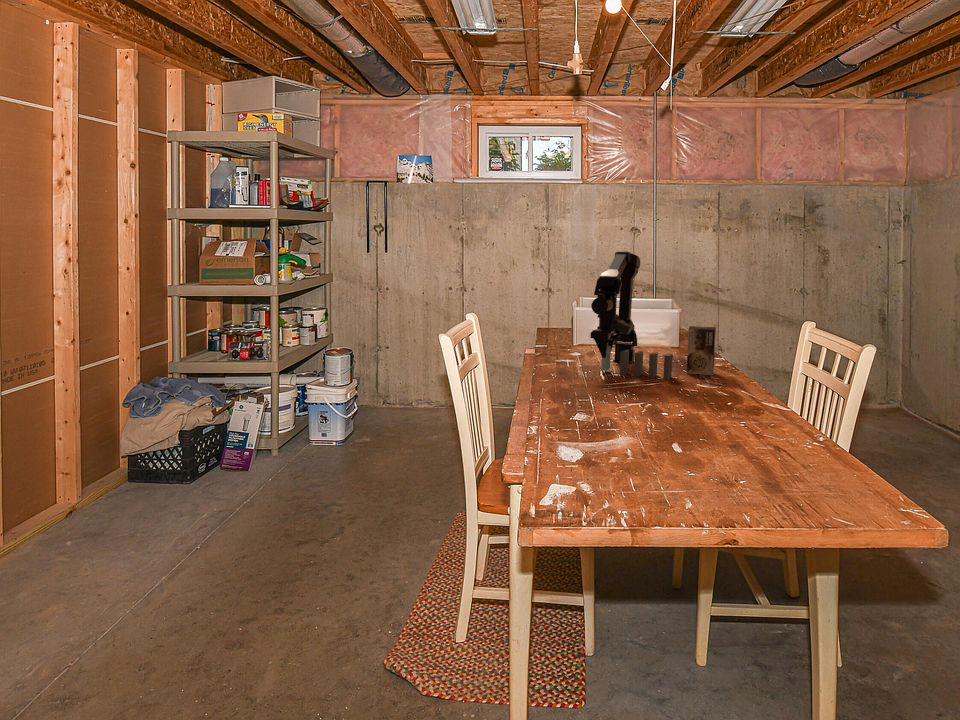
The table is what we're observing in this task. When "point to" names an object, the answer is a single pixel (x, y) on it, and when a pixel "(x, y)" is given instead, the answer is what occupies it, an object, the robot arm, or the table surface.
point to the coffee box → (701, 350)
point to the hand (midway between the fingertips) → (606, 356)
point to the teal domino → (606, 360)
